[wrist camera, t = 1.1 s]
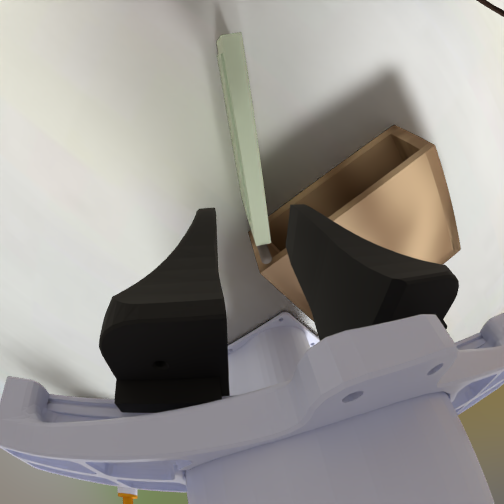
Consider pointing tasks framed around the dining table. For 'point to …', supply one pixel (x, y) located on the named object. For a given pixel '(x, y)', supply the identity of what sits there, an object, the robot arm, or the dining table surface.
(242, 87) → the door
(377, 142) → the cabinet
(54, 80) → the dining table surface
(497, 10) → the coffee mug
